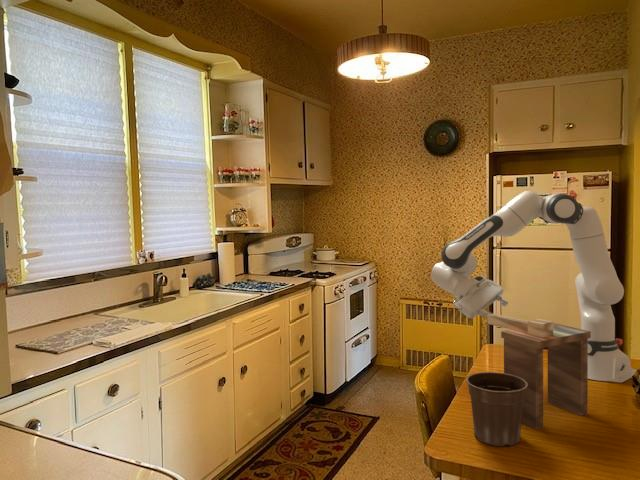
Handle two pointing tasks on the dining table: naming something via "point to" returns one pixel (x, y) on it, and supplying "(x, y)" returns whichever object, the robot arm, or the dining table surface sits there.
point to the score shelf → (549, 369)
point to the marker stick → (522, 325)
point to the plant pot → (497, 407)
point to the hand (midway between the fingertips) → (499, 310)
